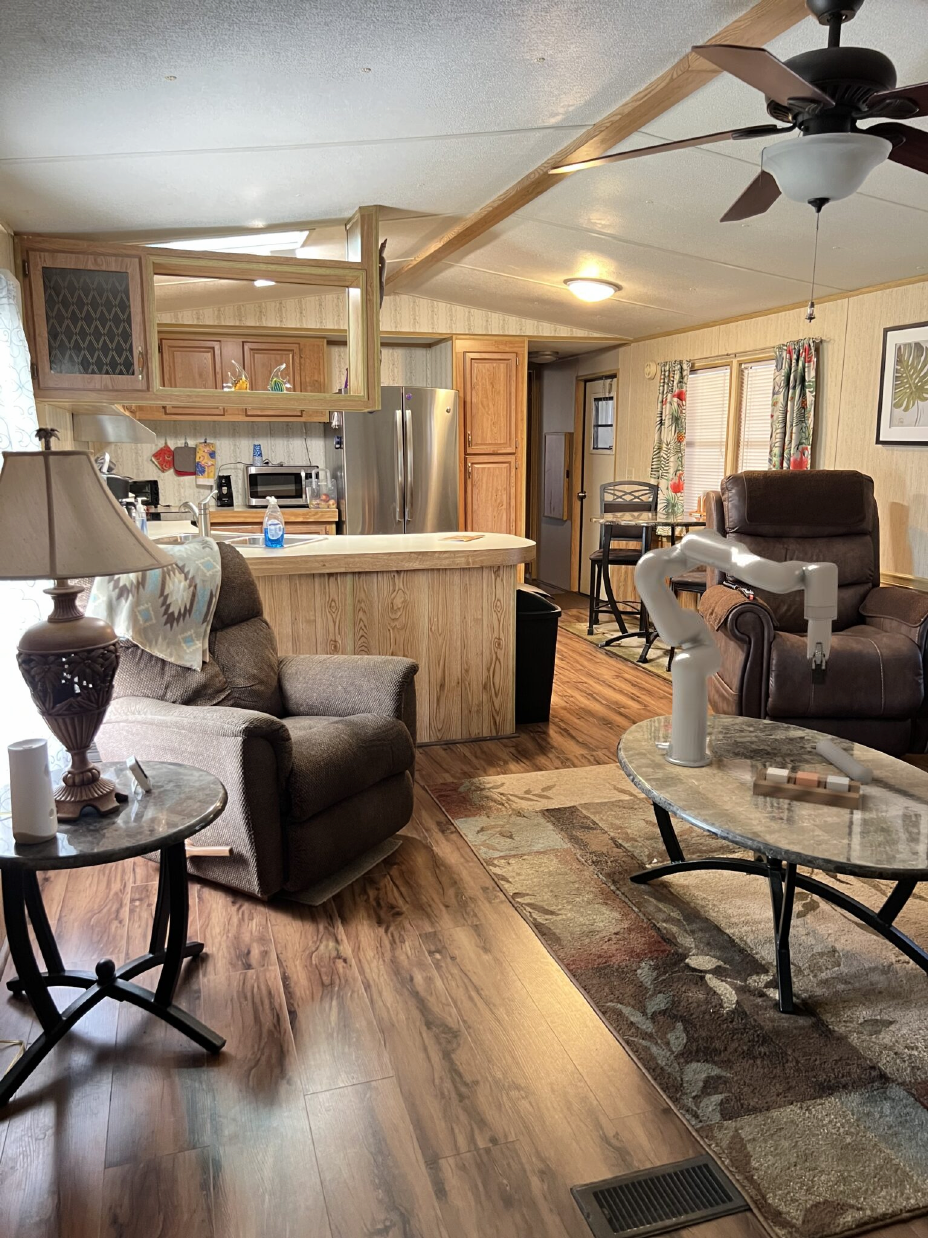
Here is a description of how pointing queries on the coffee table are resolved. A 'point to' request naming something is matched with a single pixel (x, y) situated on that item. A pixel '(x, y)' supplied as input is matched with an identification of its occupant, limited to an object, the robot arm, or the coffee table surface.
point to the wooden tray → (807, 791)
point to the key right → (837, 783)
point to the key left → (777, 775)
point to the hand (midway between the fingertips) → (819, 680)
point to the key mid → (807, 779)
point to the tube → (844, 761)
